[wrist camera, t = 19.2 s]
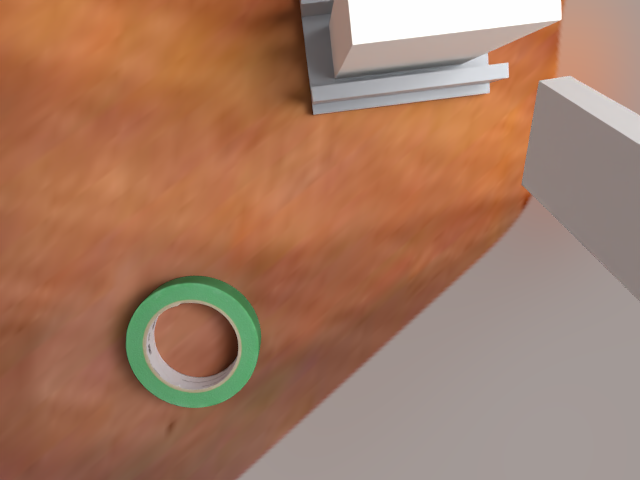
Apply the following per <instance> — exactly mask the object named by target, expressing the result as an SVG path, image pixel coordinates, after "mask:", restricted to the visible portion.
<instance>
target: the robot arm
mask: <svg viewBox="0 0 640 480" xmlns="http://www.w3.org/2000/svg"><path fill="white" fill-rule="evenodd" d="M522 185H523V186H524V187H525V188H526V189H527V190H528V191H529V192H530V193H531V194H532V195H533V196H534V197H535V198H536V199H537V200H538V201H539V202H540V203H541V204H542V205H543V206H544V207H545V208H546V209H547V210H548V211H549V212H550V213H551V214H552V215H553V216H554V217H555V218H556V219H557V220H558V221H559V222H560V223H561V224H562V225H563V226H564V227H565V228H566V229H567V230H568V231H570V233H571V234H572V235H573V236H574V237H575V238H576V239H577V240H578V241H579V242H580V243H581V244H582V245H583V246H584V247H585V248H586V249H587V250H588V251H589V252H590V253H591V254H592V255H593V256H594V257H595V258H596V259H597V260H598V261H599V262H601V264H603V265H604V266H605V268H606V269H607V270H609V271H610V273H612V275H613V276H615V277H616V278H617V279H618V280H619V281H620V282H621V283H622V284H623V285H624V286H625V287H626V288H627V289H628V290H629V291H630V292H631V293H632V294H633V295H634V296H635V297H636V298H637V299H638V300H639V301H640V115H638V114H636V113H635V112H633V111H631V110H629V109H628V108H626V107H624V106H622V105H621V104H619V103H617V102H615V101H614V100H612V99H610V98H608V97H606V96H605V95H603V94H601V93H599V92H598V91H596V90H594V89H592V88H591V87H589V86H587V85H585V84H584V83H582V82H580V81H578V80H576V79H575V78H573V77H571V76H566V77H560V78H554V79H547V80H541V81H539V84H538V90H537V96H536V102H535V108H534V114H533V120H532V126H531V132H530V138H529V143H528V149H527V155H526V161H525V167H524V173H523V179H522Z"/></svg>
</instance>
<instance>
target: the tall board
mask: <svg viewBox="0 0 640 480" xmlns="http://www.w3.org/2000/svg"><path fill="white" fill-rule="evenodd" d="M560 20H561V0H334V3H333V8H332V13H331V18H330V22H329V30H330V39H331V49H332V58H333V67H334V76H335V79H343V78H351V77H359V76H367V75H376V74H384V73H392V72H400V71H409V70H417V69H425V68H433V67H442V66H450V65H458V64H463V63H466V62H468V61H470V60H472V59H475V58H477V57H479V56H481V55H484V54H486V53H488V52H490V51H492V50H495V49H497V48H499V47H501V46H504V45H506V44H508V43H510V42H513V41H515V40H517V39H519V38H522V37H524V36H526V35H528V34H530V33H533V32H535V31H537V30H539V29H542V28H544V27H546V26H548V25H551V24H553V23H555V22H557V21H560Z"/></svg>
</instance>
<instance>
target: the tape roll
mask: <svg viewBox="0 0 640 480" xmlns="http://www.w3.org/2000/svg"><path fill="white" fill-rule="evenodd" d="M181 303H200V304H204V305H207V306H210V307H212V308H214V309H215V310H217V311H218V312H220V313H221V314H223V315H224V316H225V317H226V318H227V320H228V321H229V322H230V324H231V325H232V327H233V328H234V330H235V333H236V335H237V339H238V355H237V357H236V358H235V360H234V361H233V362H232V364H231V365H230V366H229V367H227V368H226V369H225V370H224V371H222V372H220V373H218V374H215V375H212V376H209V377H191V376H187V375H184V374H181V373H179V372H177V371H175V370H174V369H172V368H171V367H170V366H168V365H167V364H166V363H165V362H164V360H163V359H162V358H161V356H160V354H159V353H158V351H157V348H156V345H155V340H154V329H155V324H156V321H157V319H158V317H159V315H160V314H161V313H162V312H163V311H165V310H167V309H168V308H172V307H174V306H178V305H179V304H181ZM260 344H261V330H260V324H259V321H258V318H257V315H256V313H255V311H254V309H253V307H252V306H251V304H250V303H249V301H248V300H247V299H246V298H245V297H244V296H243V295H242V294H241V293H240V292H239V291H238V290H236V289H235V288H234V287H232V286H231V285H229V284H227V283H225V282H223V281H220V280H218V279H214V278H211V277H205V276H186V277H181V278H177V279H174V280H171V281H169V282H167V283H165V284H163V285H161V286H160V287H158V288H157V289H156V290H154V291H153V292H152V293H151V294H150V295H149V296H148V297H147V298H146V299H145V300H144V301H143V302H142V303H141V304H140V305H139V306H138V308H137V309H136V311H135V312H134V314H133V316H132V318H131V320H130V322H129V325H128V329H127V333H126V353H127V357H128V361H129V364H130V366H131V369H132V370H133V373H134V374H135V376H136V378H137V379H138V380H139V381H140V383H141V384H142V385H143V386H144V387H145V388H146V389H147V390H148V391H150V392H151V393H152V394H153V395H155V396H157V397H158V398H160V399H162V400H164V401H166V402H168V403H171V404H174V405H177V406H182V407H190V408H199V407H207V406H212V405H216V404H218V403H221V402H223V401H225V400H227V399H229V398H231V397H232V396H233V395H235V394H236V393H237V392H238V391H240V390H241V389H242V388H243V387H244V385H245V384H246V383H247V381H248V380H249V378H250V377H251V375H252V373H253V371H254V369H255V366H256V363H257V359H258V355H259V350H260Z"/></svg>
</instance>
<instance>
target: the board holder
mask: <svg viewBox="0 0 640 480" xmlns="http://www.w3.org/2000/svg"><path fill="white" fill-rule="evenodd" d="M333 3H334V0H300V8H301V16H302V25H303V33H304V41H305V50H306V58H307V66H308V75H309V83H310V91H311V100H312V108H313V115H317V114H325V113H333V112H341V111H350V110H358V109H366V108H374V107H382V106H390V105H398V104H406V103H414V102H422V101H430V100H438V99H447V98H455V97H463V96H471V95H479V94H486V93H490V86H489V83H491V82H494V81H498V80H501V79H505V78H509V71H508V63H502V64H494V65H488V53H486V54H484V55H481V56H479V57H477V58H475V59H472V60H470V61H468V62H466V63H463V64H458V65H450V66H442V67H433V68H425V69H417V70H409V71H400V72H392V73H384V74H376V75H367V76H359V77H351V78H343V79H335V76H334V67H333V58H332V49H331V39H330V30H329V22H330V18H331V13H332V8H333Z"/></svg>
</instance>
